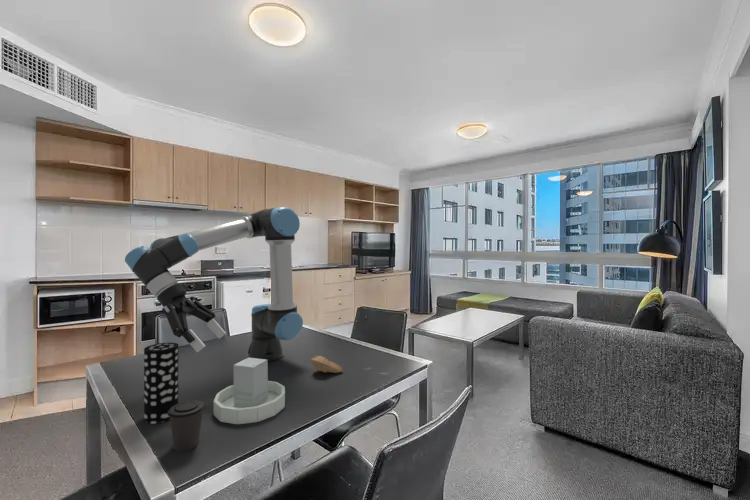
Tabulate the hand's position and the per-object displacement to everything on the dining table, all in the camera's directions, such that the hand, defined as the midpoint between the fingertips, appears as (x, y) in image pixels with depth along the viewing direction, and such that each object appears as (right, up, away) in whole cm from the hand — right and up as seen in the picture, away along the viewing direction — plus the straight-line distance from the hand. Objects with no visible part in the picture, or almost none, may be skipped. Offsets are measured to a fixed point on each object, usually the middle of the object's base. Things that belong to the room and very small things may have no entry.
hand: (212, 342), depth 105 cm
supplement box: (+12, -18, -1) cm, 22 cm away
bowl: (+12, -19, -2) cm, 23 cm away
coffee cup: (+4, -20, -21) cm, 29 cm away
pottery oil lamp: (+32, -19, +26) cm, 45 cm away
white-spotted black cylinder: (-11, -19, -8) cm, 23 cm away
